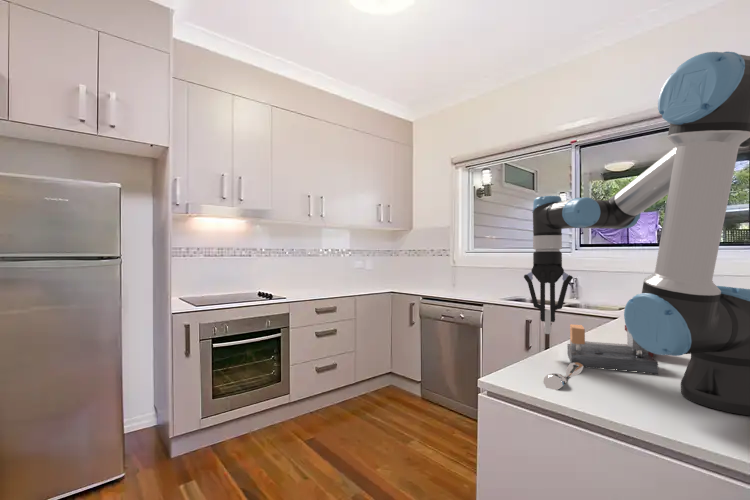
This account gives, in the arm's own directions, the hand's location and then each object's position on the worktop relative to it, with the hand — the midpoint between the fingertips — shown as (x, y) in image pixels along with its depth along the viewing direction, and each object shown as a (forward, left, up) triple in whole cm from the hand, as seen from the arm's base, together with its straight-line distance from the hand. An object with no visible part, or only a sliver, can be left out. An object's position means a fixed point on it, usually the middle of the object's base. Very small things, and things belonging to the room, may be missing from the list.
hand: (547, 333), depth 111 cm
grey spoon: (-18, -3, -8) cm, 20 cm away
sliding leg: (0, -8, -4) cm, 8 cm away
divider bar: (0, -15, -4) cm, 16 cm away
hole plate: (0, -15, -7) cm, 17 cm away
